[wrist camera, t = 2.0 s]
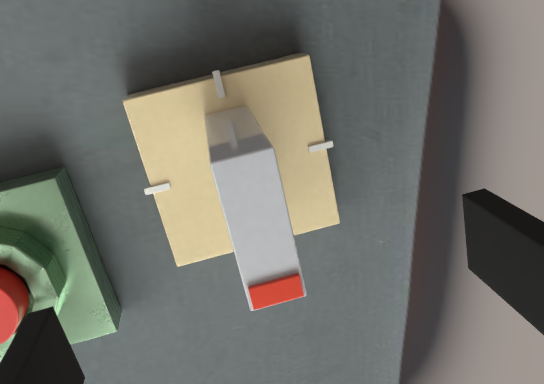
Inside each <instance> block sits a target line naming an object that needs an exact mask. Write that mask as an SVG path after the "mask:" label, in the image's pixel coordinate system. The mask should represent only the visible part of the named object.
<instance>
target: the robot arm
mask: <svg viewBox="0 0 544 384" xmlns="http://www.w3.org/2000/svg"><path fill="white" fill-rule="evenodd" d="M462 197H463V208H464V222H465V233H466V245H467V257H468V268H469V269H470V270H471V271H472V272H473V273H474V274H476V275H477V276H478V277H479V278H480V279H481V280H482V281H483V282H484V283H486V284H487V285H488V286H489V287H490V288H491V289H492V290H494V291H495V292H496V293H497V294H498V295H499V296H500V297H502V299H504V300H505V301H506V302H507V303H508V304H509V305H510V306H512V307H513V308H514V309H515V310H516V311H517V312H518V313H519V314H521V315H522V316H523V317H524V318H525V319H526V320H527V321H528V322H530V323H531V324H532V325H533V326H534V327H535V328H536V329H537V330H539V331H540V332H541V333H542V334H543V335H544V222H543V221H541V220H539V219H537V218H535V217H534V216H532V215H530V214H529V213H527V212H525V211H523V210H521V209H520V208H518V207H516V206H514V205H513V204H511V203H509V202H507V201H506V200H504V199H502V198H500V197H499V196H497V195H495V194H493V193H492V192H490V191H488V190H486V189H481V190H477V191H474V192H470V193H467V194H463V195H462ZM84 379H85V377H84V374H83V372H82V370H81V368H80V366H79V363H78V361H77V359H76V357H75V354H74V352H73V350H72V348H71V346H70V343H69V341H68V339H67V337H66V334H65V332H64V330H63V328H62V326H61V323H60V321H59V319H58V317H57V314H56V312H55V310H54V308H53V306H52V307H49V308H45V309H41V310H38V311H34V312H31V313H27V315H26V317H25V318H24V320H23V322H22V324H21V326H20V328H19V329H18V331H17V333H16V335H15V337H14V338H13V340H12V342H11V344H10V346H9V348H8V349H7V351H6V353H5V355H4V357H3V358H2V360H1V362H0V384H83V383H84Z"/></svg>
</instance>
